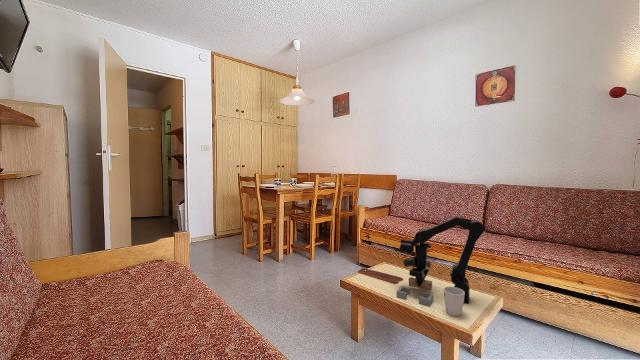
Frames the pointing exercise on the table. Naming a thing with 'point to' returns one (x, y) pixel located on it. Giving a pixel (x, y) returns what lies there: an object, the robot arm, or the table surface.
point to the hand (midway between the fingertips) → (420, 284)
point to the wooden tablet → (381, 275)
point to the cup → (453, 300)
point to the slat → (424, 285)
